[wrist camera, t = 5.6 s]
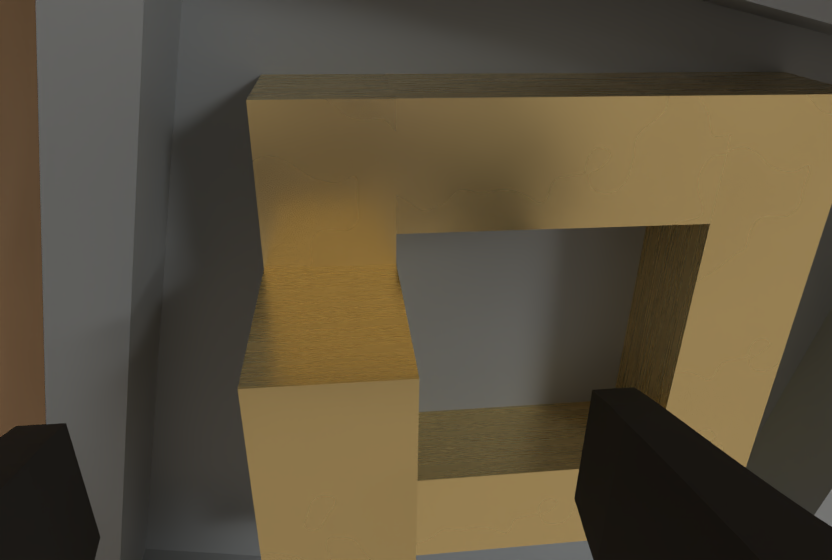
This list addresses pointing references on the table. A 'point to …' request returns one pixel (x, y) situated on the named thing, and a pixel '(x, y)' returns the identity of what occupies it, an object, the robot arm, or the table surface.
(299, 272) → the ring
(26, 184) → the table surface
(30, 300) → the table surface
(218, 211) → the tray
